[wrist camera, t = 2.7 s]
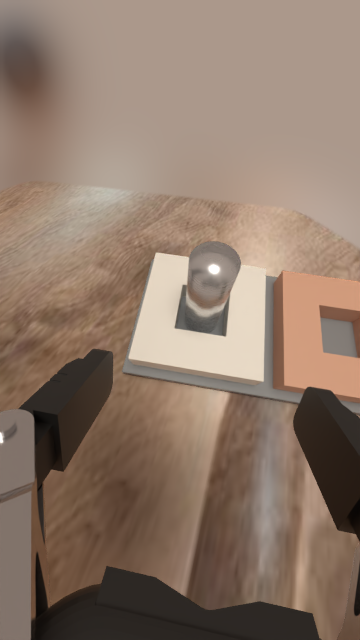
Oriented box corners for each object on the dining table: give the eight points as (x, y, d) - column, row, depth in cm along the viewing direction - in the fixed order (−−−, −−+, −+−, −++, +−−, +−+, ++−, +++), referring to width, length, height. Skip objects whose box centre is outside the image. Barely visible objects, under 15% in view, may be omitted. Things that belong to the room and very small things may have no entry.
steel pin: (182, 331, 24) (184, 279, 15) (187, 302, 26) (192, 238, 16) (215, 337, 24) (239, 287, 15) (218, 307, 25) (242, 245, 16)
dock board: (124, 373, 23) (115, 366, 20) (153, 264, 29) (149, 245, 26) (405, 422, 22) (445, 423, 19) (379, 297, 27) (406, 281, 24)
